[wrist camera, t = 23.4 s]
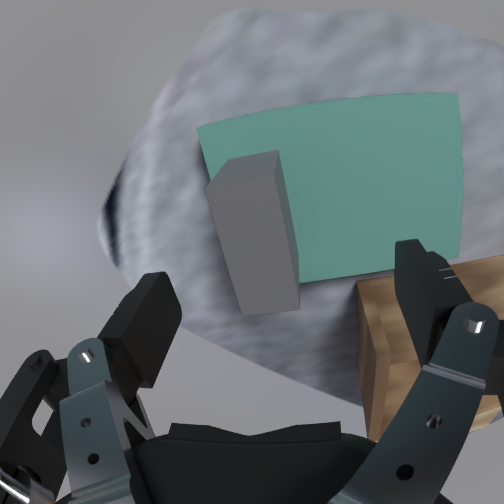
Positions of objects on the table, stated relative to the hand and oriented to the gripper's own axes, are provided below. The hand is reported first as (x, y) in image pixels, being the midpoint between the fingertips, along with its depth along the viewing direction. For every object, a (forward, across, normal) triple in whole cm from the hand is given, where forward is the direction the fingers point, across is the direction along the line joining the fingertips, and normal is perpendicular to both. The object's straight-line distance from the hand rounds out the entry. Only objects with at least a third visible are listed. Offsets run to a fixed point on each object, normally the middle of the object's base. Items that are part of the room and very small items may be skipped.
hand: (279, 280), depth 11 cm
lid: (+8, -3, 0) cm, 9 cm away
